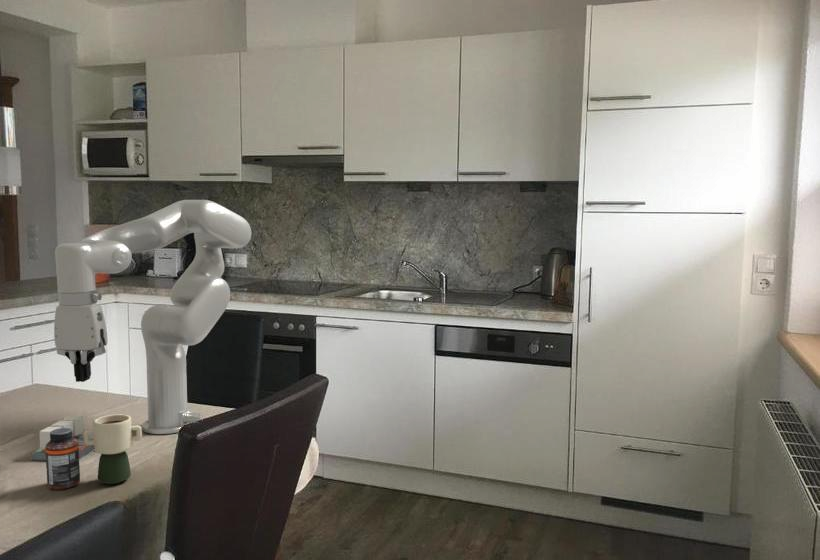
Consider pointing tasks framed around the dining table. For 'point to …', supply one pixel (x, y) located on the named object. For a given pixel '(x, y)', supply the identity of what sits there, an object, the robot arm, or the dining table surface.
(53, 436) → the supplement bottle
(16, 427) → the dining table surface
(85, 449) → the panel
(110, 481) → the character mug
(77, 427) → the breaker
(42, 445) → the block
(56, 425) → the block
